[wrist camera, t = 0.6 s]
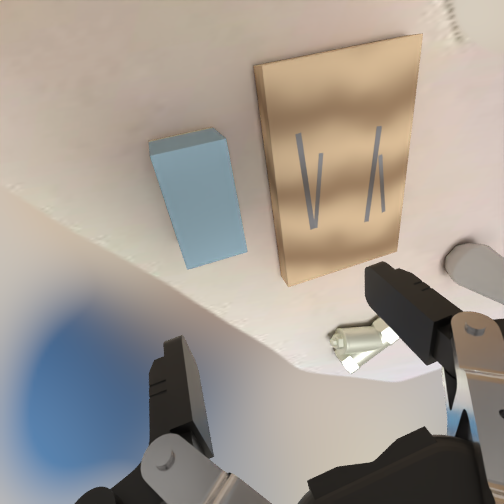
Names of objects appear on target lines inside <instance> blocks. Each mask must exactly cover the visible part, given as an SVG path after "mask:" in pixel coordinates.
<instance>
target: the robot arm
mask: <svg viewBox="0 0 504 504" xmlns="http://www.w3.org/2000/svg"><path fill="white" fill-rule="evenodd" d="M365 297H366V300H367V302H368V304H369V306H370V307H371V308H372V309H373V310H374V311H375V312H376V313H377V314H378V315H379V317H380V318H381V319H382V320H383V321H384V322H385V323H386V324H387V325H388V326H389V327H390V328H391V329H392V330H393V331H394V332H395V333H396V334H397V335H398V336H399V337H400V338H401V339H402V340H403V341H404V342H405V343H406V345H407V346H408V347H409V348H410V349H411V350H412V351H413V352H414V353H415V354H416V355H417V356H418V357H419V358H420V359H421V360H422V361H423V362H424V363H425V364H426V365H429V364H432V363H434V362H436V361H438V362H439V363H440V364H441V365H442V369H441V372H442V379H443V387H444V395H445V403H446V410H447V435H431V434H430V433H429V431H428V430H427V429H426V427H425V426H424V427H422V428H420V429H418V430H416V431H413V432H411V433H409V434H407V435H405V436H403V437H401V438H398V439H397V440H396V441H395V442H394V443H392V444H391V445H390V446H389V447H388V448H387V449H386V450H385V451H384V452H383V453H382V454H381V455H380V456H379V457H378V458H377V459H376V460H375V461H373V462H370V463H363V464H355V465H347V466H339V467H336V468H334V469H331V470H329V471H327V472H325V473H323V474H321V475H318V476H316V477H314V478H312V479H310V480H308V481H307V482H308V486H309V489H310V490H309V491H308V492H307V493H306V494H305V495H304V496H303V498H302V499H301V500H300V501H299V503H298V504H504V319H496V320H492V319H491V318H489V317H488V316H486V315H483V314H480V313H477V312H468V311H467V312H463V311H462V310H460V309H459V308H458V307H456V306H455V305H454V304H452V303H451V302H450V301H448V300H447V299H446V298H444V297H443V296H442V295H440V294H439V293H438V292H436V291H435V290H434V289H432V288H430V286H428V285H427V284H426V283H424V282H422V280H420V279H419V278H418V277H416V276H415V275H414V274H412V273H410V272H407V271H405V270H402V269H400V268H398V269H396V270H395V269H394V268H392V267H391V266H390V265H389V264H387V263H386V262H383V261H382V262H379V263H377V264H374V265H371V266H369V267H366V268H365ZM149 386H150V388H149V397H150V399H149V411H150V414H149V416H150V442H149V446H148V448H147V450H146V451H145V453H144V455H143V458H142V461H141V463H140V464H139V465H138V466H137V468H135V470H133V471H132V472H131V473H130V474H129V475H128V476H126V477H125V478H124V479H123V480H122V481H120V482H119V483H118V484H116V485H115V486H114V487H113V488H111V489H108V488H106V487H96V488H94V489H91V490H90V491H88V492H86V493H85V494H84V495H83V496H81V497H80V499H78V501H77V502H76V503H75V504H272V503H270V502H269V501H268V500H266V499H265V498H264V497H263V496H261V495H260V494H259V493H258V492H256V491H255V490H254V489H252V488H251V487H250V486H249V485H247V484H246V483H245V482H244V481H242V480H241V479H240V478H238V477H237V476H235V475H234V474H232V473H226V472H225V471H223V470H222V469H220V468H219V467H218V466H217V465H216V464H214V463H213V462H212V461H211V460H209V459H210V458H212V457H214V454H213V449H212V443H211V437H210V432H209V426H208V421H207V415H206V409H205V404H204V398H203V393H202V387H201V382H200V376H199V371H198V368H197V364H196V362H195V359H194V357H193V355H192V353H191V351H190V349H189V347H188V344H187V342H186V340H185V338H184V336H183V335H181V336H178V337H176V338H173V339H170V340H168V341H165V342H164V357H161V358H158V359H156V360H154V362H153V365H152V367H151V369H150V372H149Z"/></svg>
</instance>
